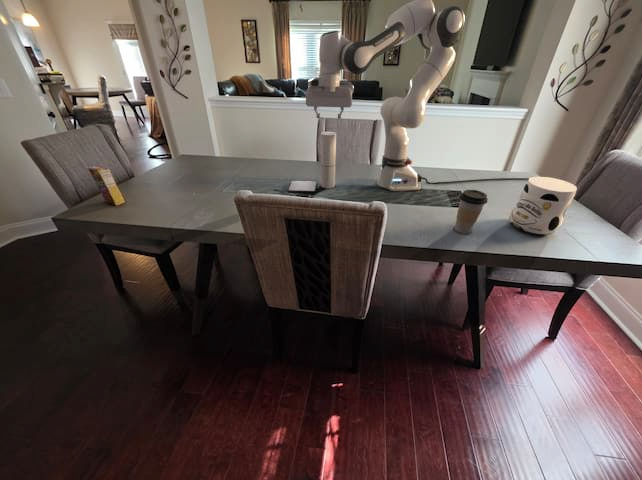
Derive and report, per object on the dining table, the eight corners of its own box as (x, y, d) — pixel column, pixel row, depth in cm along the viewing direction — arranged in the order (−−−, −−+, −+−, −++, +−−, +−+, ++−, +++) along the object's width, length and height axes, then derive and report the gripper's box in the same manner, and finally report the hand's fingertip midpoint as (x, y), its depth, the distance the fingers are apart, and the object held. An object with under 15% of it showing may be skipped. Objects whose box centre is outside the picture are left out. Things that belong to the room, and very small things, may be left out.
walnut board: (316, 183, 148) (316, 181, 147) (314, 193, 137) (314, 191, 137) (292, 182, 148) (292, 180, 147) (288, 192, 138) (288, 190, 137)
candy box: (104, 201, 127) (86, 167, 117) (114, 198, 130) (97, 164, 120) (115, 206, 123) (98, 171, 114) (125, 202, 126) (109, 168, 117)
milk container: (502, 230, 111) (522, 185, 100) (508, 214, 122) (527, 172, 111) (554, 243, 103) (582, 197, 92) (555, 225, 115) (580, 181, 104)
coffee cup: (468, 224, 114) (481, 188, 105) (479, 236, 107) (494, 199, 98) (446, 224, 114) (457, 188, 105) (455, 236, 106) (467, 199, 97)
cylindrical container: (335, 183, 148) (336, 131, 133) (334, 188, 142) (335, 135, 127) (321, 182, 149) (321, 131, 133) (320, 187, 143) (319, 134, 128)
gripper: (353, 81, 120) (351, 117, 129) (306, 80, 121) (307, 116, 129) (354, 82, 115) (351, 120, 124) (304, 81, 116) (305, 119, 124)
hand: (328, 118), depth 126 cm, fingers open, 8 cm apart
